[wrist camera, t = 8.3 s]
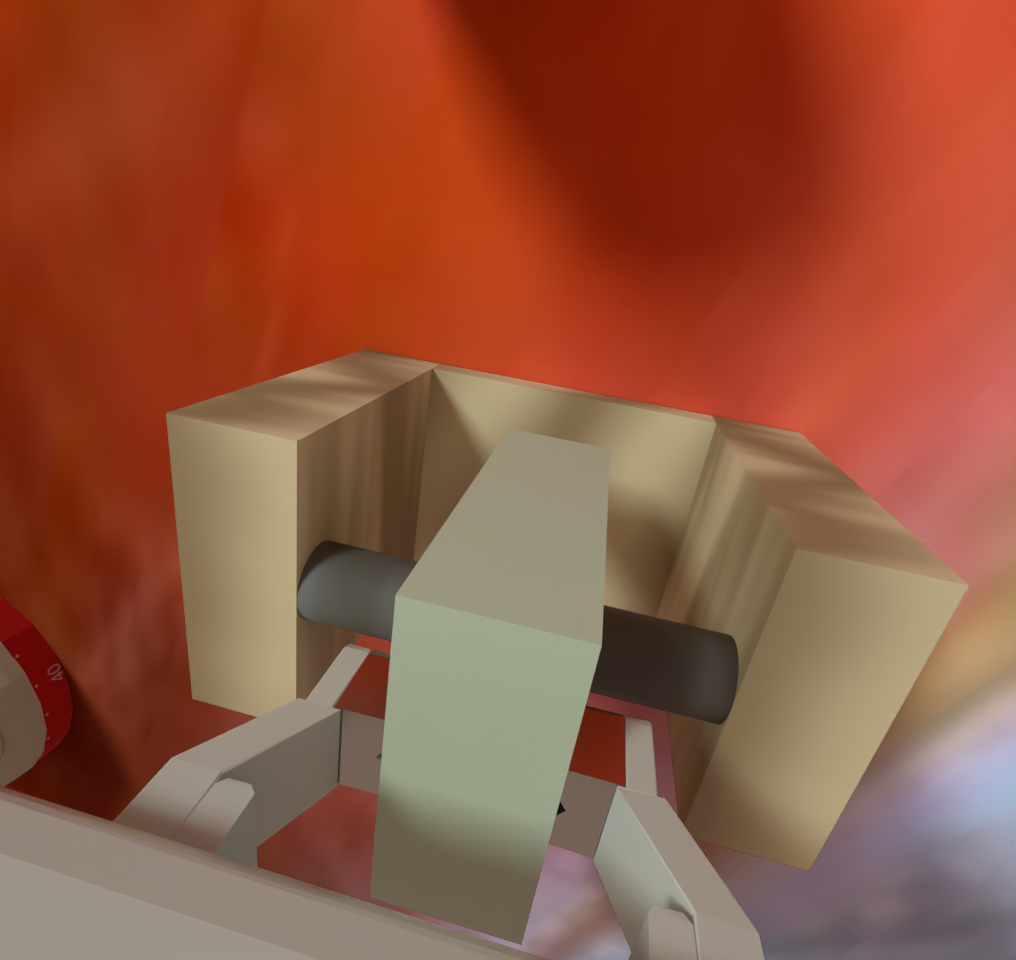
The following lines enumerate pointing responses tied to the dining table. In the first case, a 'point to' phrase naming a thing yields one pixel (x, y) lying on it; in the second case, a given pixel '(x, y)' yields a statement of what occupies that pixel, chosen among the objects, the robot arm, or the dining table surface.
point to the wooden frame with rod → (628, 570)
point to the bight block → (492, 685)
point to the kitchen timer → (28, 696)
